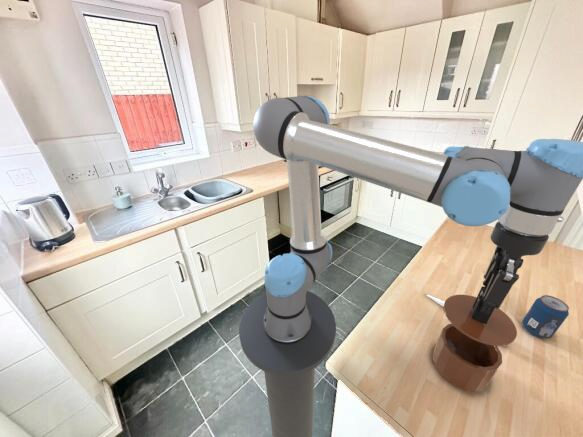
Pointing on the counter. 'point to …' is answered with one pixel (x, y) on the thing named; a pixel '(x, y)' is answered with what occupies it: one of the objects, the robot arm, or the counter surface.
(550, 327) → the soda can
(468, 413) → the counter surface
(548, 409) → the counter surface
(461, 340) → the crock
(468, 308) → the crock lid
